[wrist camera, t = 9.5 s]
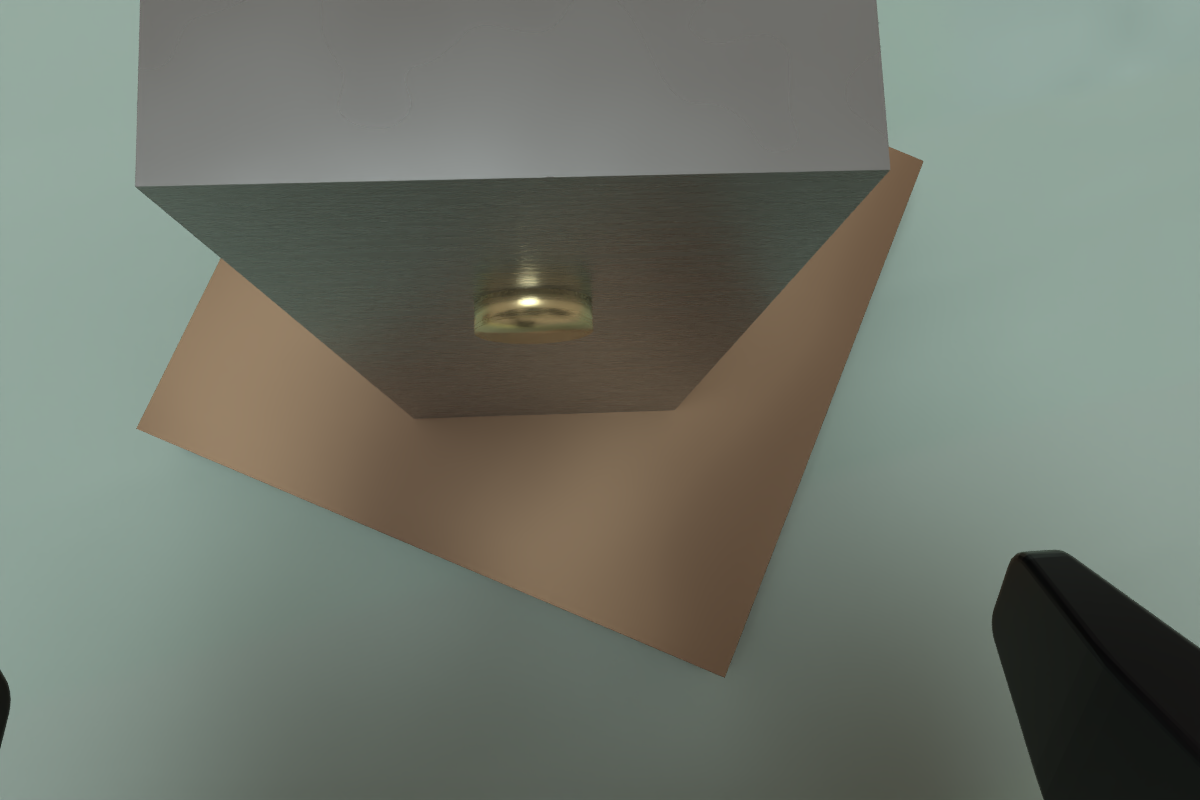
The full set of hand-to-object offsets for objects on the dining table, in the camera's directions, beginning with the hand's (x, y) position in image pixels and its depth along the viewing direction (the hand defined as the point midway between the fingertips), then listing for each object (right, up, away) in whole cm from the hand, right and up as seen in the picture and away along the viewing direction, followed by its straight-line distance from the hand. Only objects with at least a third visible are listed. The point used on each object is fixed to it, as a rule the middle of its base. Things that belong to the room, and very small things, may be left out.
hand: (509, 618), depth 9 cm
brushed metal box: (0, +4, +11) cm, 11 cm away
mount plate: (0, +4, +13) cm, 13 cm away
